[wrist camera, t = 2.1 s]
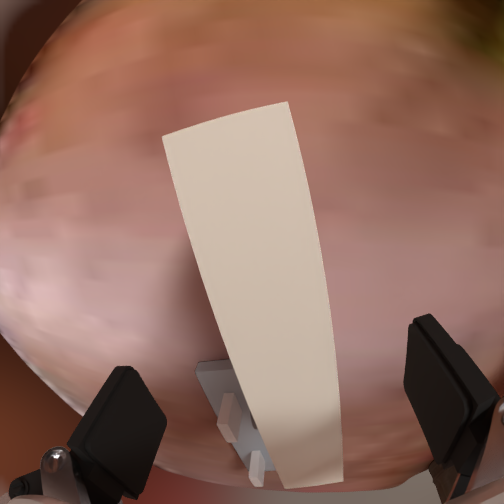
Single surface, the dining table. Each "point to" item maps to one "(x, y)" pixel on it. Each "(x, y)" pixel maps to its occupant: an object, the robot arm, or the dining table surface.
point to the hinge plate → (234, 416)
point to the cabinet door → (265, 281)
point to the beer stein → (443, 479)
